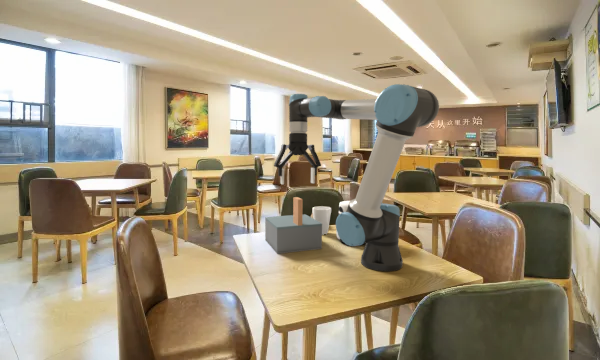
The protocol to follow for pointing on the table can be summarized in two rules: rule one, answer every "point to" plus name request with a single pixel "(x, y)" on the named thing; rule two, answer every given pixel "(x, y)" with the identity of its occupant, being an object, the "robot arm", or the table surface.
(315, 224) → the lid flap
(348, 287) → the table surface
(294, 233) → the carton
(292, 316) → the table surface
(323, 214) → the foam cup
